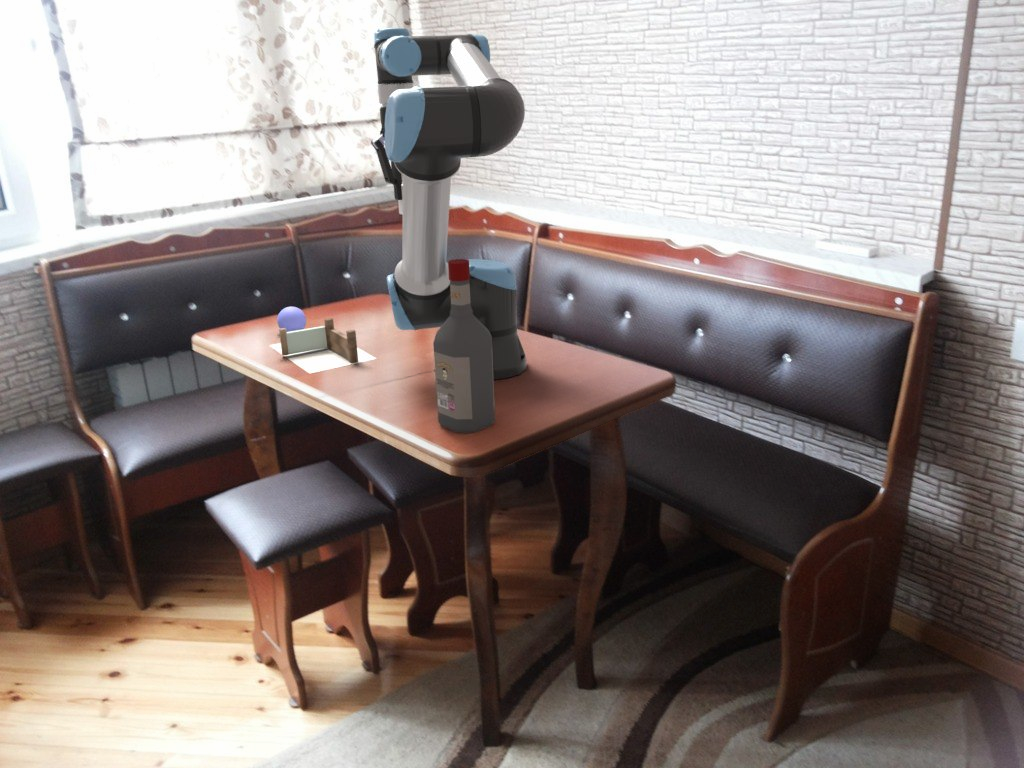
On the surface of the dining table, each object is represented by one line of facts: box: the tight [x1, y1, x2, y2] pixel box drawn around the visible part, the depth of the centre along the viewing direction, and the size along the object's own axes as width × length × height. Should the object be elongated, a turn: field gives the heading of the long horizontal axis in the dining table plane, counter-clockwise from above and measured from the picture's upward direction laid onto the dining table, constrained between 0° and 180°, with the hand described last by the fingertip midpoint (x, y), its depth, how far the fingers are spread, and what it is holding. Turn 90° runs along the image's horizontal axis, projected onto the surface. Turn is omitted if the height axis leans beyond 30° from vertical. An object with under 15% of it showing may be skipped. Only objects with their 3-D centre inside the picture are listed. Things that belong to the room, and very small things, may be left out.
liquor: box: [433, 258, 496, 434], centre depth 154 cm, size 9×9×30 cm
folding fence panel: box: [278, 325, 327, 356], centre depth 200 cm, size 10×2×6 cm, turn 119°
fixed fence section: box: [323, 317, 358, 364], centre depth 197 cm, size 14×2×7 cm, turn 34°
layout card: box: [268, 342, 378, 374], centre depth 201 cm, size 26×16×1 cm, turn 34°
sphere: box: [276, 306, 307, 332], centre depth 216 cm, size 7×7×7 cm
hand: (404, 214), depth 197 cm, fingers closed
